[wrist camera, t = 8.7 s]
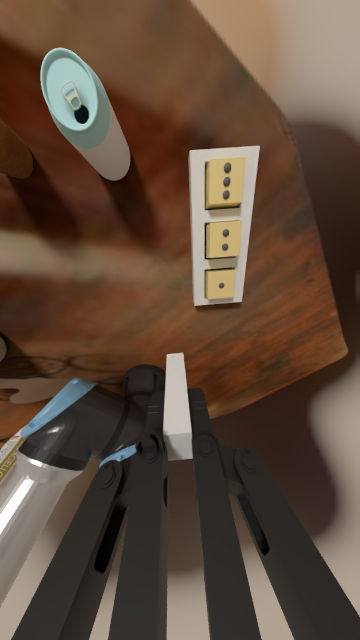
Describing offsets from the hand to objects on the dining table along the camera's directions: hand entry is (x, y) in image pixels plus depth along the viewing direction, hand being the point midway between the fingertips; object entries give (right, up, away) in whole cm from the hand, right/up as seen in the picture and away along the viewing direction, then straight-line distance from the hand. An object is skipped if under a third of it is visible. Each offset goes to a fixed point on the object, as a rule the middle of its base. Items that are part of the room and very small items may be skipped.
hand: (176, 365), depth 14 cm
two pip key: (+9, +21, +18) cm, 29 cm away
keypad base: (+9, +22, +19) cm, 31 cm away
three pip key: (+8, +30, +15) cm, 34 cm away
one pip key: (+10, +14, +22) cm, 28 cm away
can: (-12, +34, +13) cm, 38 cm away
